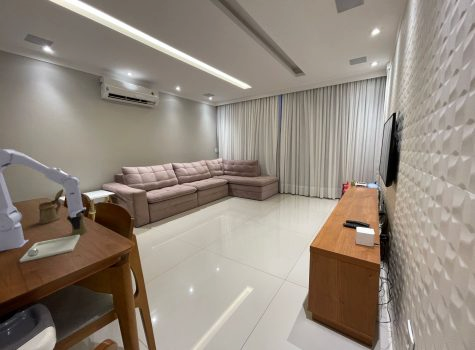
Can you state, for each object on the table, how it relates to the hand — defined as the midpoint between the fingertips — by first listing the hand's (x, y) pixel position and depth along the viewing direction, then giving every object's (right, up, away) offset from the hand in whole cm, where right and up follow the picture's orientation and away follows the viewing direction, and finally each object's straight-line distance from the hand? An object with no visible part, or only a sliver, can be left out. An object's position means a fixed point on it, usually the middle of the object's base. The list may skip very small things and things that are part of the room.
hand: (78, 226), depth 101 cm
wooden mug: (-33, -2, +22) cm, 40 cm away
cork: (0, -4, +1) cm, 4 cm away
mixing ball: (-2, -7, -21) cm, 22 cm away
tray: (0, -6, -14) cm, 15 cm away
